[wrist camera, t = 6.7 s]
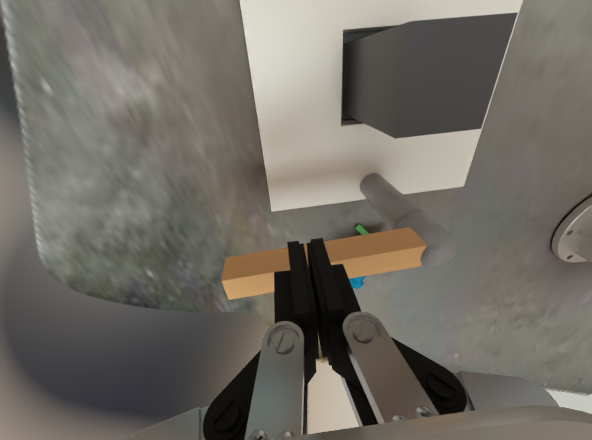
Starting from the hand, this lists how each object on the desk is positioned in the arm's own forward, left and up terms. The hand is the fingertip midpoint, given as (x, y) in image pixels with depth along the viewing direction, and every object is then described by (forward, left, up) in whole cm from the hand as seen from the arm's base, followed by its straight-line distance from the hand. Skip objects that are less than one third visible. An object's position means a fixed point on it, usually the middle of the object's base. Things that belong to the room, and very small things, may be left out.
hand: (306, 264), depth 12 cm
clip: (-2, +2, -4) cm, 6 cm away
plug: (-8, -7, -14) cm, 18 cm away
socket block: (-8, -6, -14) cm, 17 cm away
